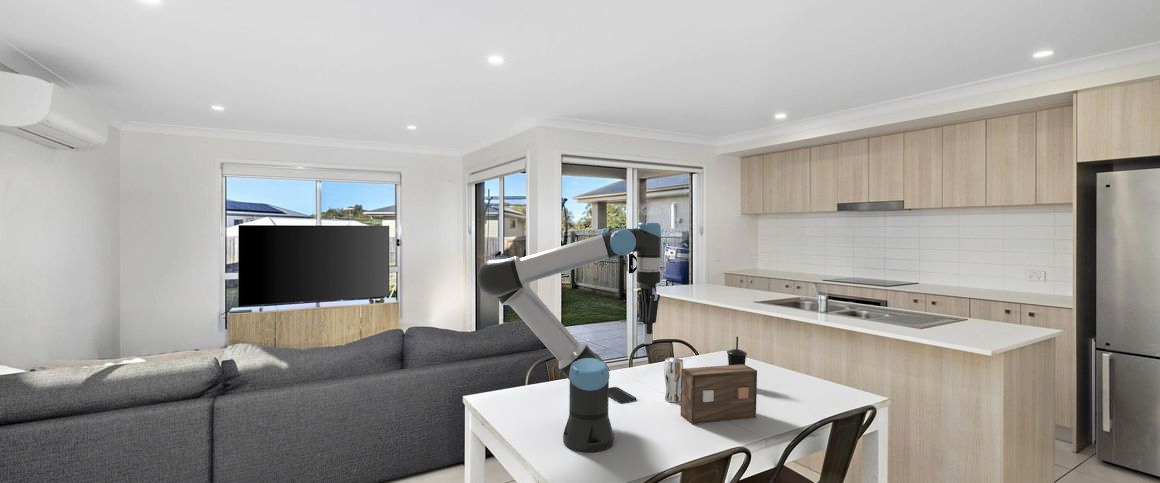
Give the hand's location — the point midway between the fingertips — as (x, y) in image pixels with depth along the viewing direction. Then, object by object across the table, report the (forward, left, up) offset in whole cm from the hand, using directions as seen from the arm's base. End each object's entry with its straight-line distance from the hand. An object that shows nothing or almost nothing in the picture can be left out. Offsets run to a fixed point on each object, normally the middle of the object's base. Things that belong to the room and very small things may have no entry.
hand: (647, 343), depth 165 cm
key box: (+20, -17, -26) cm, 37 cm away
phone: (+18, +21, -27) cm, 39 cm away
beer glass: (+26, +2, -27) cm, 37 cm away
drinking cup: (+56, -12, -27) cm, 63 cm away
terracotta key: (+24, -23, -19) cm, 38 cm away
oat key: (+14, -14, -19) cm, 28 cm away
